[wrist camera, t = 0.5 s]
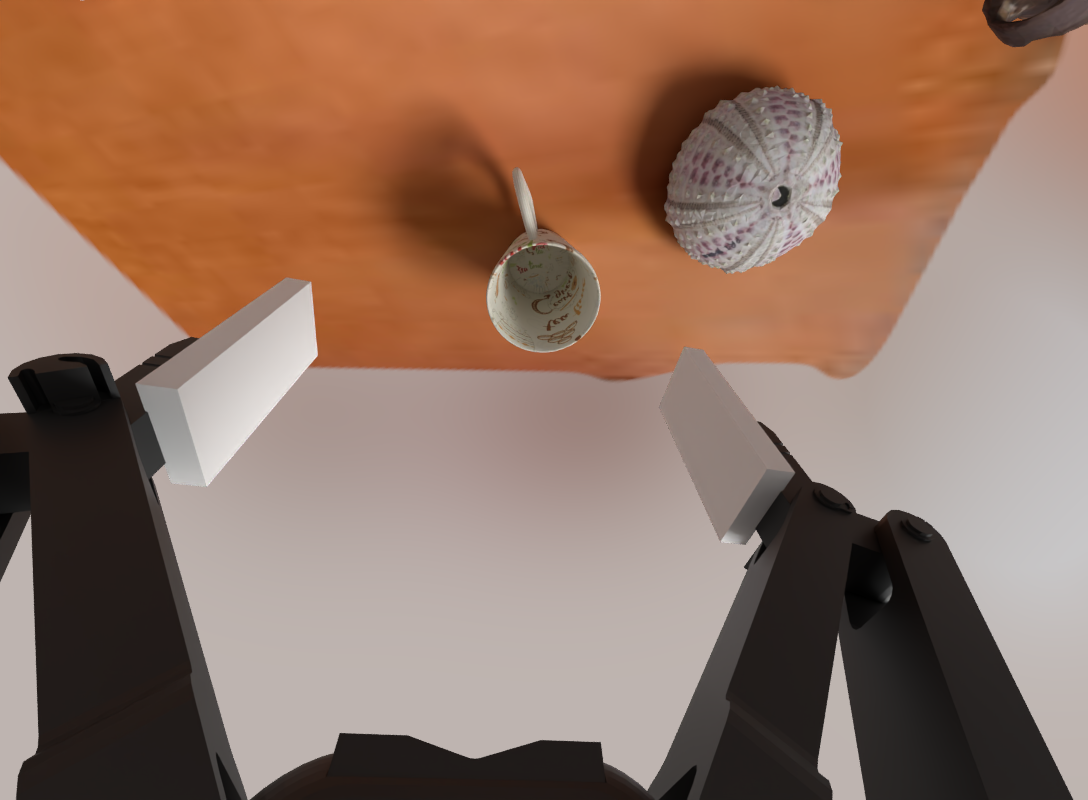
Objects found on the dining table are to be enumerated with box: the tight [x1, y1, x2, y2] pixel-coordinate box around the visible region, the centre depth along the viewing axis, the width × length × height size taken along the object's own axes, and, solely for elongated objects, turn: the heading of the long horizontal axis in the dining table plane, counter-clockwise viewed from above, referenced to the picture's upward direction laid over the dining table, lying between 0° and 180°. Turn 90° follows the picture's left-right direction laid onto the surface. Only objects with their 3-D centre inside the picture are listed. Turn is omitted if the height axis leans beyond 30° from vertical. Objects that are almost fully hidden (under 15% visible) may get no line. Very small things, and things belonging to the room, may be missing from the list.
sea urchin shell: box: [664, 86, 843, 274], centre depth 34 cm, size 13×14×8 cm
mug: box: [486, 167, 600, 352], centre depth 35 cm, size 8×13×10 cm, turn 15°
